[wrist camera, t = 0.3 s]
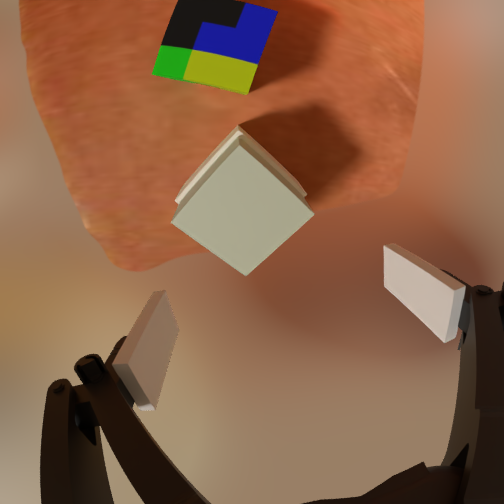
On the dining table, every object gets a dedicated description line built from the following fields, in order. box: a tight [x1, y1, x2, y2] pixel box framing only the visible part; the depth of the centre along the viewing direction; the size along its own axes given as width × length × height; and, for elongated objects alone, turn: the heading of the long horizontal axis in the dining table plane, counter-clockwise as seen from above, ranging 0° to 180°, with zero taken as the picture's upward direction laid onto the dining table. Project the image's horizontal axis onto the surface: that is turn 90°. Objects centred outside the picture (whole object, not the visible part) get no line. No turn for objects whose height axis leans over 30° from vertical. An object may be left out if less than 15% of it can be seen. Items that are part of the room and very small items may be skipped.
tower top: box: [171, 136, 314, 276], centre depth 31 cm, size 11×11×6 cm
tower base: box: [175, 125, 307, 204], centre depth 36 cm, size 12×12×6 cm
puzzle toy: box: [152, 0, 278, 95], centre depth 24 cm, size 10×10×10 cm
